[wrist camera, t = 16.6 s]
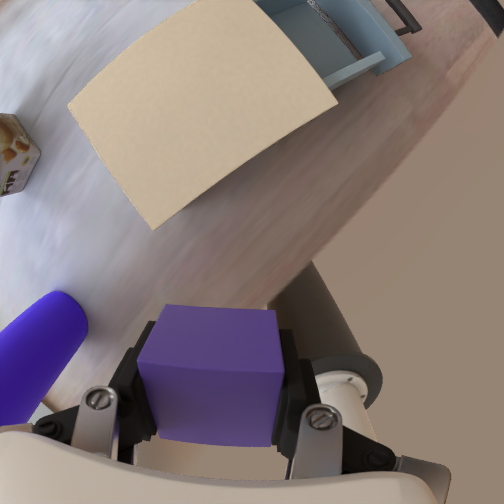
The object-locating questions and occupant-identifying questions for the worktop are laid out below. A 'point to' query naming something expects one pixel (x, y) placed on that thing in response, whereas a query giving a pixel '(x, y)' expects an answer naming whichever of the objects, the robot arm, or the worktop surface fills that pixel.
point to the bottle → (37, 353)
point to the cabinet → (196, 103)
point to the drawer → (353, 26)
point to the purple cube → (214, 375)
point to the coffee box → (15, 155)
